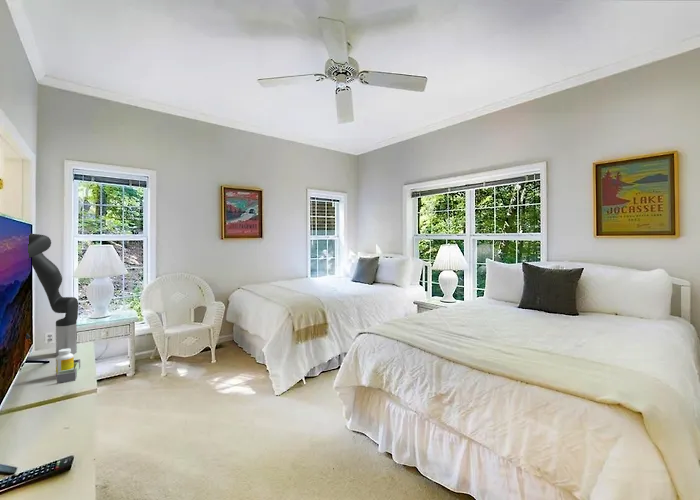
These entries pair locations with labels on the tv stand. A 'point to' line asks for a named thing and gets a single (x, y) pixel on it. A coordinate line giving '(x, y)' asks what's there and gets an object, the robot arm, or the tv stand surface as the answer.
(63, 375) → the bay rack
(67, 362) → the supplement bottle
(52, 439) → the tv stand surface
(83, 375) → the tv stand surface
